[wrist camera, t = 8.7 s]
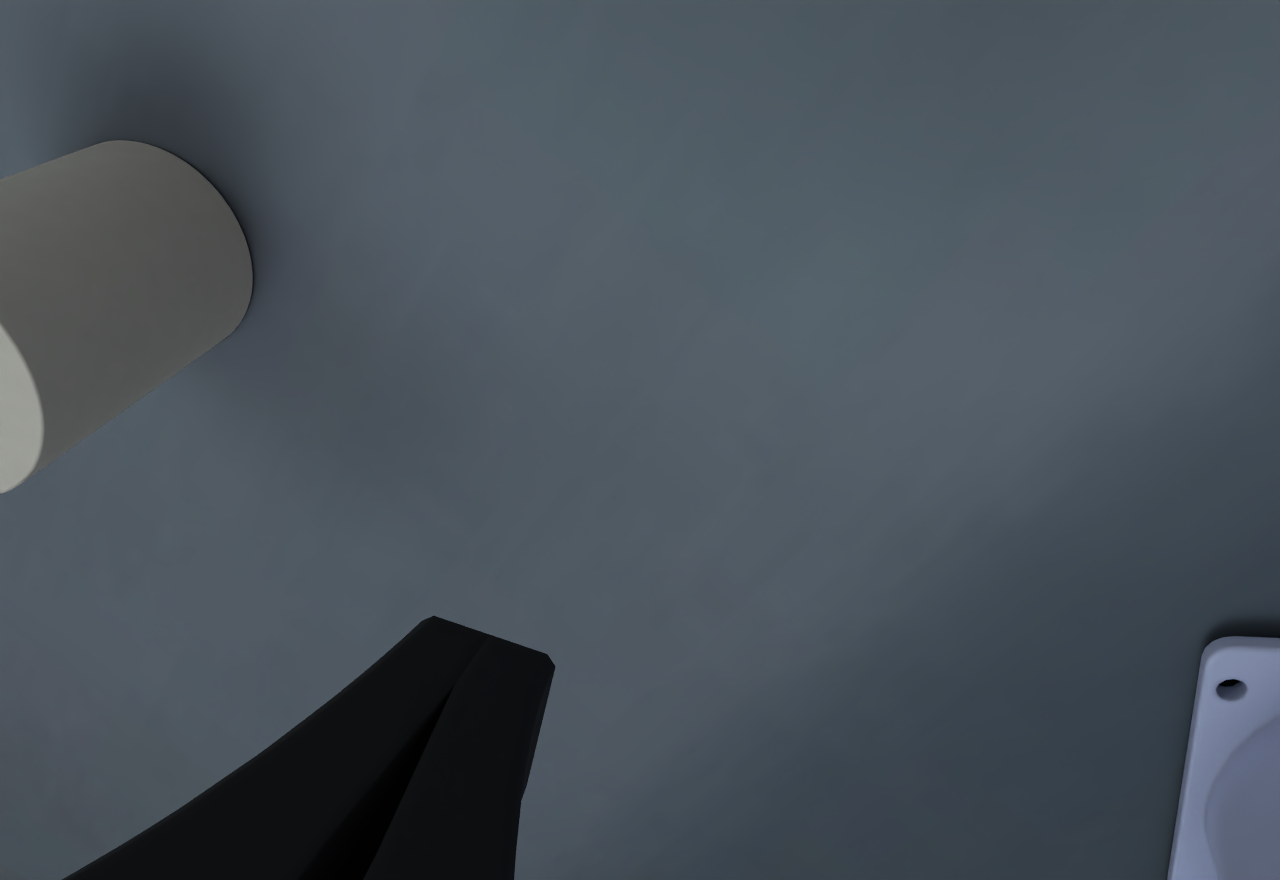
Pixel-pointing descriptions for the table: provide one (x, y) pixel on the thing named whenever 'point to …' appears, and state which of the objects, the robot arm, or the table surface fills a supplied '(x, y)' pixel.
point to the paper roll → (106, 291)
